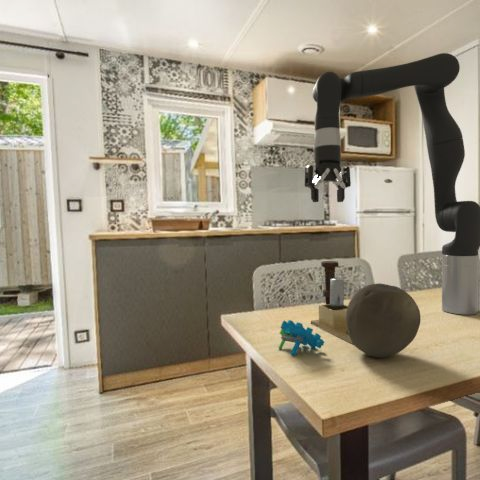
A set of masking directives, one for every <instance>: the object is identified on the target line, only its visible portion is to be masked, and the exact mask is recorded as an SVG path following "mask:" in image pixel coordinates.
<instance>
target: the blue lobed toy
mask: <svg viewBox="0 0 480 480" xmlns="http://www.w3.org/2000/svg"><path fill="white" fill-rule="evenodd" d="M313 330H314V329H312V327H309V326H307V327H306V329H305V327H304V325H303V323H301V322H298V321H297V322H296V323H295V322H294V321H293V320H291V319H288V320H287V321H285V320H283V321H282V323H281V325H280V331H279V334H280V335H281V336H280V338H281V341H280V343H279V346H278V349H279V350H282V348H283V347H284V344H285V343H286V342H289V343H294V345H293V347H292V349H291V351H290V355H291V356H296V354H297V352H298V350H299V347H300V346H301V345H302V346H306V347H307V345H308V346H309V347H310V348H311V349H315V348H318V349H321V348H322V346H324V344H325V341H324V340H323V339H322V336H321V335H320V334H319V333H318V332H316V333H315V334H313Z"/></svg>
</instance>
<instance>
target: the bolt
mask: <svg viewBox="0 0 480 480" xmlns="http://www.w3.org/2000/svg"><path fill="white" fill-rule="evenodd" d="M320 266H321V267H322V268H324V279H325V280H324V286H325V289H323V290H322V295H323V297H324V298H325V301H324V302H325V305H326V304H330V279H331V278H336V277H335V276H336V275H335V274H336V268H339V262H338V261H336V260H322V261H321V264H320Z"/></svg>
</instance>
